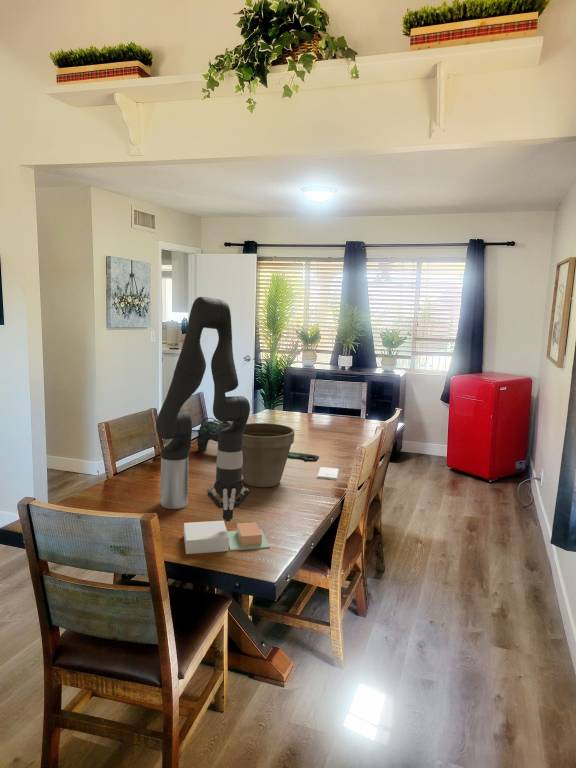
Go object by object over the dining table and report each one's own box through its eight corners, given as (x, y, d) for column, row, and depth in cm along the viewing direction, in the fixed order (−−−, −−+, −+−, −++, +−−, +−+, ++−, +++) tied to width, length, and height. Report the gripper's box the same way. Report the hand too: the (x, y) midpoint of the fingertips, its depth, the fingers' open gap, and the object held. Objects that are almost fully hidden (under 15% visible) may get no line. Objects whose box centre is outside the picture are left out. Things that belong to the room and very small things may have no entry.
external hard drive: (338, 472, 224) (336, 481, 212) (319, 470, 225) (316, 479, 213) (338, 468, 224) (336, 477, 212) (320, 466, 225) (317, 475, 213)
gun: (281, 456, 238) (287, 451, 248) (281, 459, 238) (287, 453, 248) (315, 460, 234) (320, 455, 244) (315, 463, 234) (319, 457, 244)
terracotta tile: (256, 522, 158) (255, 531, 159) (237, 523, 157) (236, 532, 157) (262, 534, 150) (261, 544, 150) (241, 536, 148) (241, 546, 149)
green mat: (225, 532, 158) (225, 531, 158) (261, 530, 161) (261, 529, 161) (230, 550, 146) (230, 549, 146) (269, 547, 149) (269, 546, 149)
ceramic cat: (236, 455, 240) (238, 413, 237) (228, 458, 234) (230, 416, 232) (202, 448, 249) (203, 408, 246) (194, 451, 243) (195, 410, 241)
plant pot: (224, 473, 214) (226, 422, 210) (280, 469, 222) (282, 420, 219) (239, 494, 190) (240, 438, 187) (300, 489, 199) (303, 435, 195)
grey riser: (183, 535, 155) (184, 522, 154) (223, 532, 158) (223, 520, 157) (186, 554, 143) (186, 540, 143) (228, 550, 146) (229, 537, 146)
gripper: (249, 459, 154) (247, 514, 156) (205, 460, 151) (203, 516, 153) (254, 467, 147) (251, 524, 149) (207, 468, 143) (205, 527, 146)
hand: (227, 520), depth 151 cm, fingers closed
